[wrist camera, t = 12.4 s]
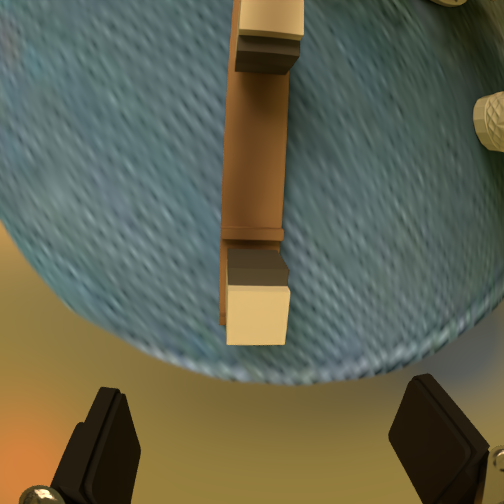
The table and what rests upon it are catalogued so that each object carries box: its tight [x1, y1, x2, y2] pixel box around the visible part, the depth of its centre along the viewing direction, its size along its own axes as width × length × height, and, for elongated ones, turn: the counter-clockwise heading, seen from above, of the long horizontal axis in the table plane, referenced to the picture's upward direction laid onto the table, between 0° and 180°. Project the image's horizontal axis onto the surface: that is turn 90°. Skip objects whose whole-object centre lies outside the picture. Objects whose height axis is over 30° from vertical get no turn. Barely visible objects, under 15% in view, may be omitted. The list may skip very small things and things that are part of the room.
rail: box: [219, 0, 304, 325], centre depth 23 cm, size 5×29×9 cm, turn 177°
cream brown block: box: [226, 249, 290, 345], centre depth 24 cm, size 4×5×7 cm
